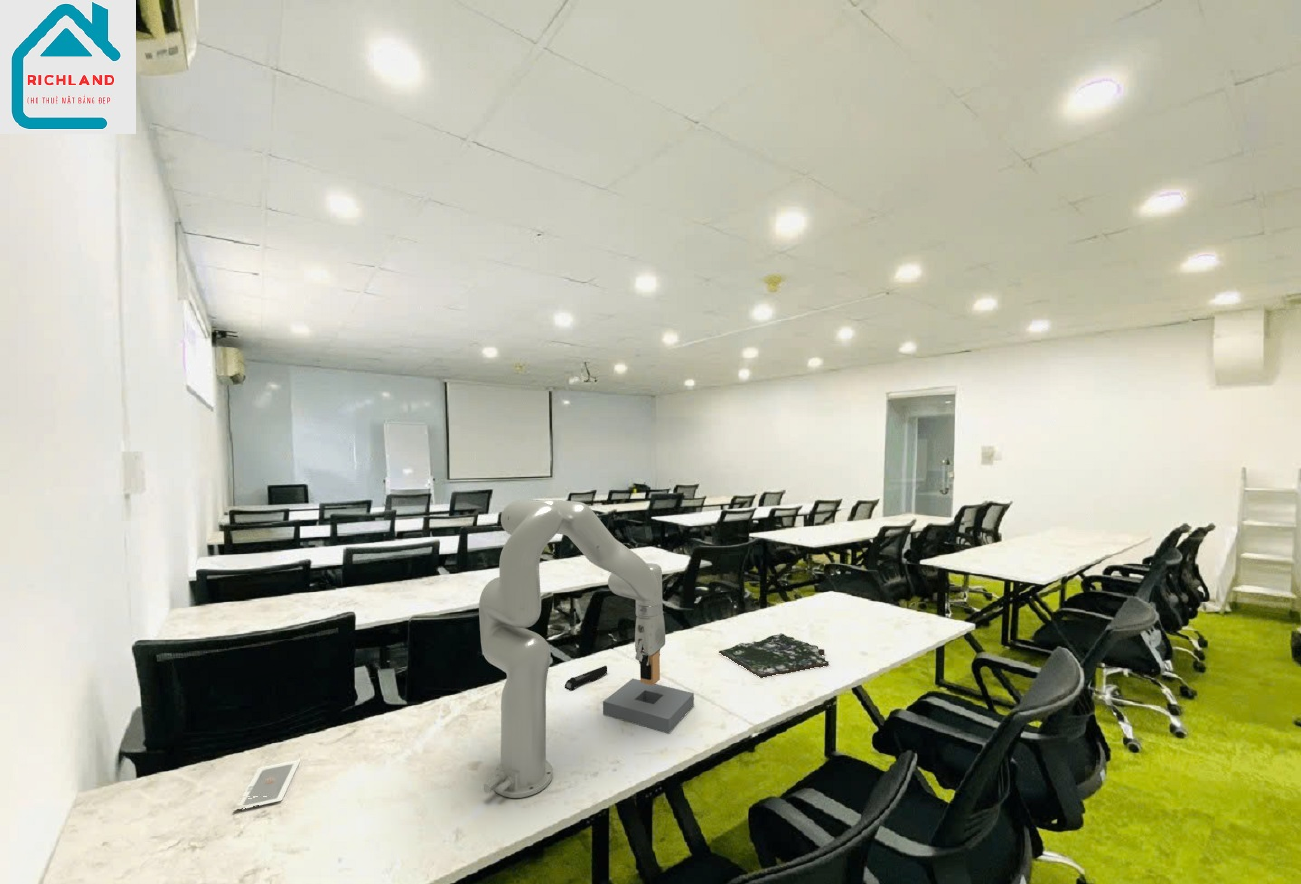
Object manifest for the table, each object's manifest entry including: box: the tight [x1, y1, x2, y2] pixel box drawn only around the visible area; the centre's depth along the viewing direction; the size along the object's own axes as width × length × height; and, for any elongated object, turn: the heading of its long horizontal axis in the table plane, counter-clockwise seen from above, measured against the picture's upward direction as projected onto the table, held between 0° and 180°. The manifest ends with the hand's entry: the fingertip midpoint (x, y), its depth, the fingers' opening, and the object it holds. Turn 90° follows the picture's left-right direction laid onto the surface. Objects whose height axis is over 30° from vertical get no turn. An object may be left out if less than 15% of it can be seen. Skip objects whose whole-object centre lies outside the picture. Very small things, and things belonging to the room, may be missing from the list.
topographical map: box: [718, 633, 830, 679], centre depth 172 cm, size 26×33×3 cm
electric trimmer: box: [564, 665, 608, 691], centre depth 154 cm, size 4×16×3 cm, turn 136°
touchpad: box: [236, 758, 301, 810], centre depth 105 cm, size 8×15×2 cm, turn 23°
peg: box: [639, 650, 661, 685], centre depth 137 cm, size 4×4×8 cm
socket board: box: [602, 678, 695, 734], centre depth 136 cm, size 16×20×4 cm
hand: (650, 674), depth 137 cm, fingers closed on peg, 4 cm apart
